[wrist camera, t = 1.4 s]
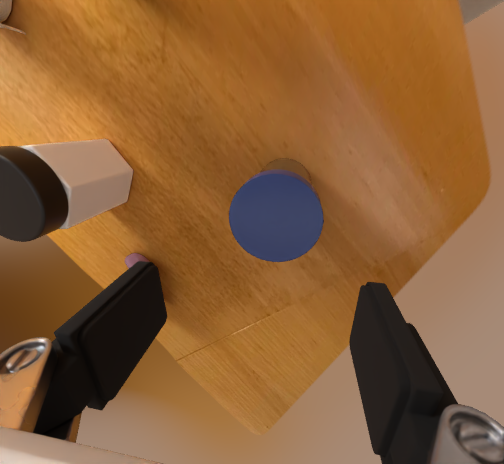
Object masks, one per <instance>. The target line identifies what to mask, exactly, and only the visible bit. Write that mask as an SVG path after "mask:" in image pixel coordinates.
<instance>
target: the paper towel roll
mask: <svg viewBox="0 0 504 464" xmlns="http://www.w3.org/2000/svg"><path fill="white" fill-rule="evenodd" d="M11 6H12V0H0V28H7V29H10V30H13V31H16V32H19V33H22V34H26V33H24V32H23V31H22V30H19V29H16V28H13V27H10V26H7V25H4V24H1V22H3V21H4V20H6V19H7V17H8V16H9V14H10V12H11Z"/></svg>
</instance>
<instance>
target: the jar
mask: <svg viewBox="0 0 504 464" xmlns="http://www.w3.org/2000/svg"><path fill="white" fill-rule="evenodd" d="M132 176H133V169H132V168H131V167H130V166H129V164H128V163H127V162H126V161H125V159H124V158H123V157H122V156H121V155H120V153H119V152H118V151H117V150H116V149H115V147H114V146H113V145H112V144H111V142H110V141H109V140H108V139H97V140H85V141H72V142H60V143H48V144H35V145H26V146H1V147H0V235H1V236H3V237H5V238H7V239H10V240H14V241H21V242H26V241H31V240H34V239H36V238H39V237H41V236H43V235H45V234H48V233H50V232H52V231H55V230H57V229H68V228H70V227H72V226H75V225H77V224H79V223H81V222H83V221H86V220H88V219H90V218H92V217H95V216H97V215H99V214H101V213H103V212H106V211H108V210H110V209H112V208H114V207H117V206H119V205H121V204H123V203H125V202H127V201H128V196H129V191H130V186H131V181H132Z"/></svg>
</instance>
